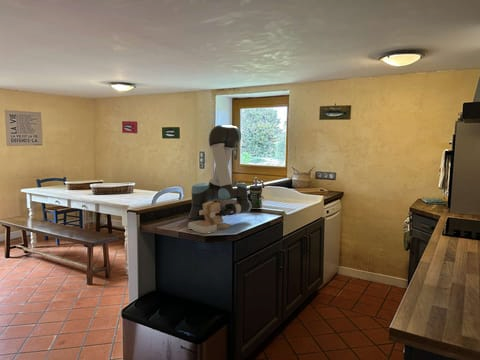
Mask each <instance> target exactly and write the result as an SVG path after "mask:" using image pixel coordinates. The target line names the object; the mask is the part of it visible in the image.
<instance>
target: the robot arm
mask: <svg viewBox="0 0 480 360" xmlns="http://www.w3.org/2000/svg"><path fill="white" fill-rule="evenodd" d="M241 140H242V133H241V130H240V129H239V128H238V127H237V126H234V125H219V124H218V125H216V126H214V127H213V128H212V129H211V130H210V132H209V137H208V144H209V148H210V149H211V152H212V155H213V160H214V165H215V166H214V169H213V170H214V171H213V174H212V178H210V179H209V182H201V183H200V182H199V183H195V184H192V186H191V209H190V212H189V215H188V218H189V219H190V218H191V219H190V220H193V219H195V220H194V221H205V216H204V211H203V206H202V204H204V203H206V202H208V201H213V202H216V201H230V200H235V201H236V202H230V203H226V204H225V205H224V206H220V208H221V210H220V213H219V211H217V212H212V213H210V217H211V218H212V217H217V216H219V215H220V216H222V217H226V216H229V217H230V216H237V215H239V214H244V213H248V212H251V209H252V204H251V202H250V201H248V194H247V193H248V186H247V183H245V182H241V183H240V182H239V183H235V184H234V186H233V184H232V180H231V176H230V172H229V165H230V161H231V156H232V152H233V150H234V149H235V148H236V145H237V144H238V143H240V142H241Z"/></svg>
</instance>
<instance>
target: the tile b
mask: <svg viewBox="0 0 480 360" xmlns="http://www.w3.org/2000/svg"><path fill="white" fill-rule="evenodd" d="M211 225H212V224H211V222H203V226H204V227H206V226H211Z"/></svg>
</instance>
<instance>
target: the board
mask: <svg viewBox="0 0 480 360" xmlns="http://www.w3.org/2000/svg"><path fill="white" fill-rule="evenodd" d="M212 225H213V224H212ZM229 227H230V228H231V223H227V222H224V221H222V222H221V223H219V224H217V231H221V230H220V229H222V230H226V229H230V228H229ZM225 228H226V229H225Z"/></svg>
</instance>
